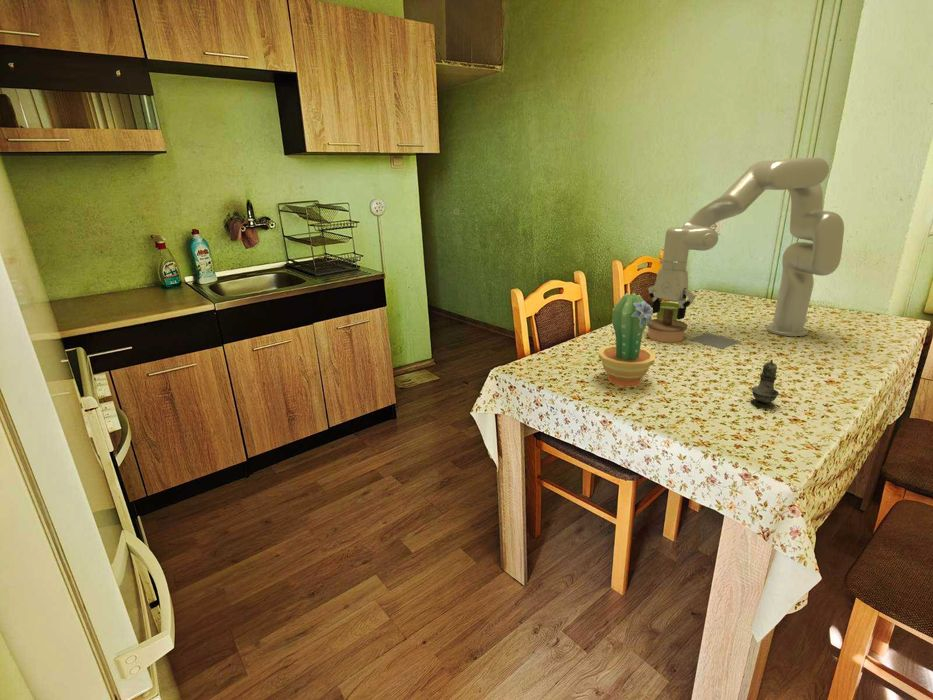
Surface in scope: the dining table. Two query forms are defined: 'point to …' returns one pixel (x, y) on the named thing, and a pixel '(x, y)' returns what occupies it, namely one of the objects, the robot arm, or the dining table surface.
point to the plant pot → (668, 306)
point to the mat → (714, 340)
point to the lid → (667, 323)
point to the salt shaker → (766, 387)
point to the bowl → (665, 336)
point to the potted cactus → (628, 342)
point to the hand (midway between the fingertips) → (667, 315)
